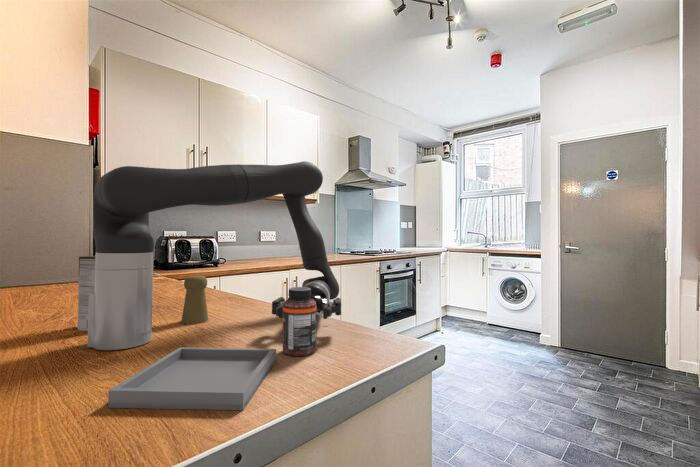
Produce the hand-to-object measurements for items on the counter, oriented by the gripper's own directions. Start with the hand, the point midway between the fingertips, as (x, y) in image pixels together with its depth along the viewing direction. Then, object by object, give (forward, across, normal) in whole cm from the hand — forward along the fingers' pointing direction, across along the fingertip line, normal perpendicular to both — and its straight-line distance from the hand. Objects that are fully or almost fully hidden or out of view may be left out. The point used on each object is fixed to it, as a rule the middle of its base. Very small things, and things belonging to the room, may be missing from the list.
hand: (302, 313), depth 64 cm
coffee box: (-12, -46, +6) cm, 48 cm away
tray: (+16, -11, +6) cm, 21 cm away
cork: (-18, -29, +6) cm, 34 cm away
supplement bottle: (+4, 0, +6) cm, 7 cm away
